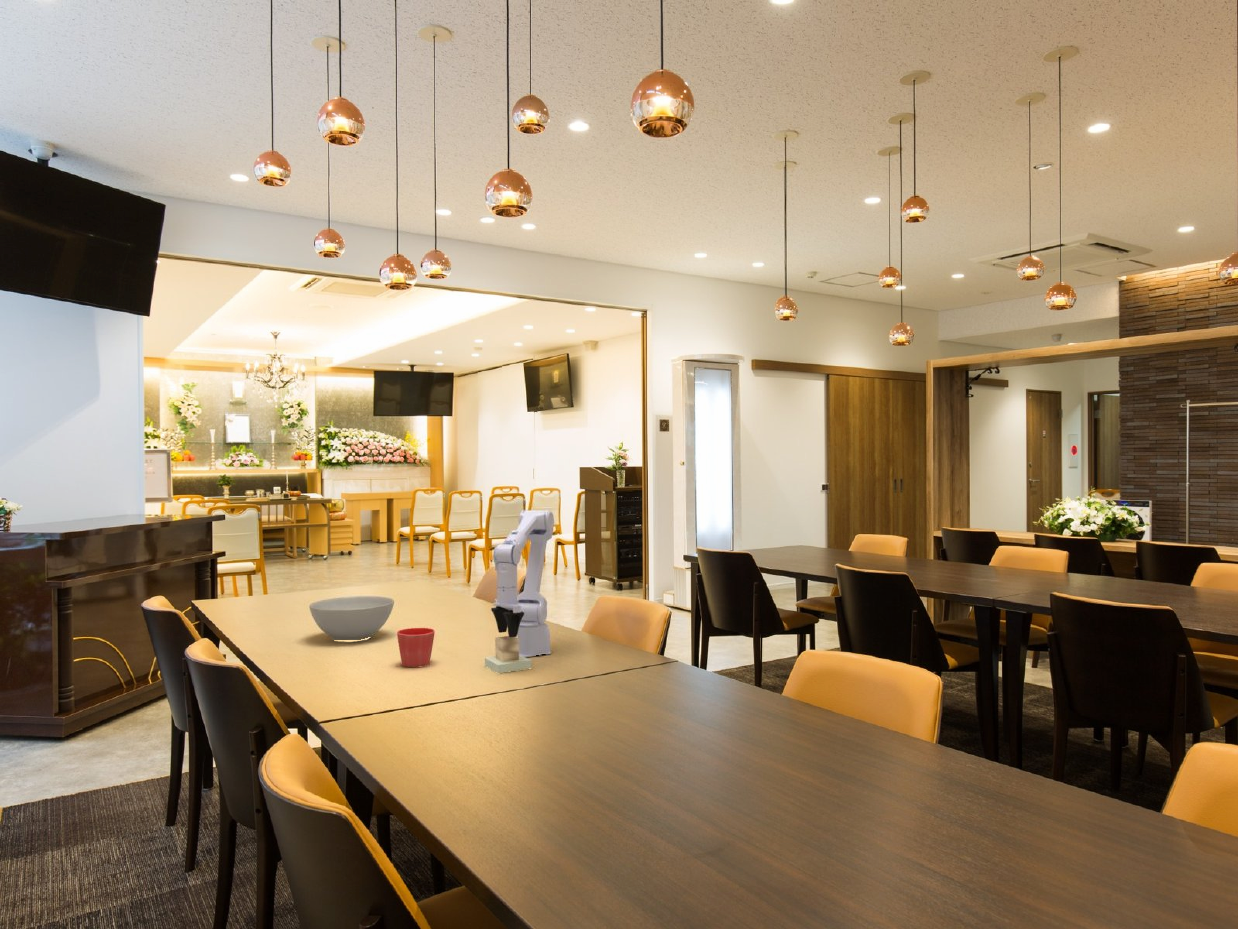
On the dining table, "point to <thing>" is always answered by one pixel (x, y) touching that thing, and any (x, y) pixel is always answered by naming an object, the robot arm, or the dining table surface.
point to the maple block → (507, 648)
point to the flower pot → (415, 646)
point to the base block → (507, 664)
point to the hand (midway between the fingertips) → (507, 634)
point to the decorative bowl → (351, 616)
